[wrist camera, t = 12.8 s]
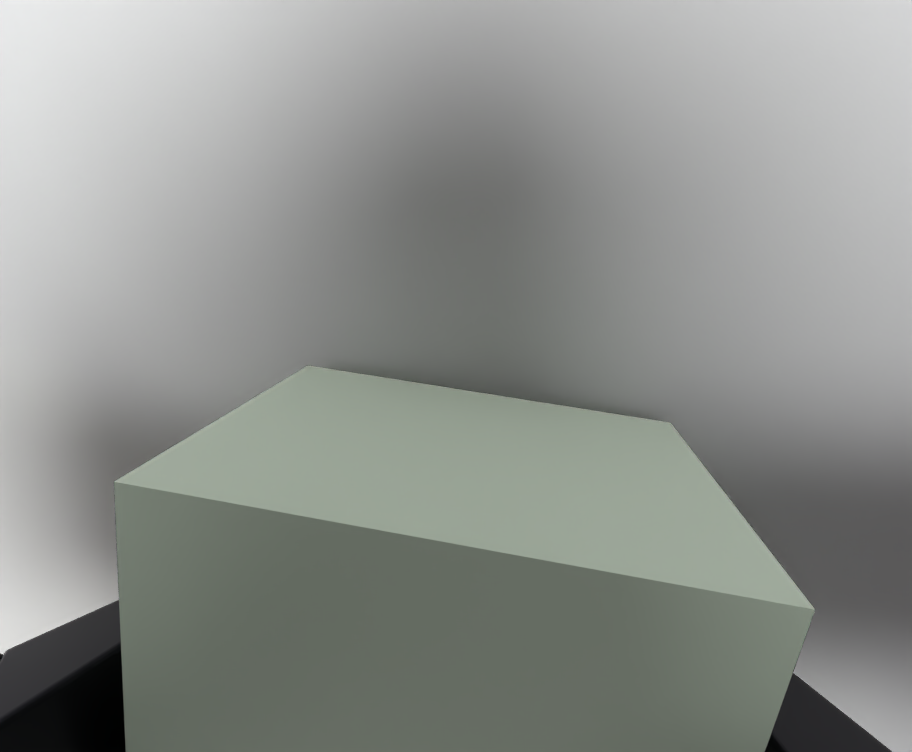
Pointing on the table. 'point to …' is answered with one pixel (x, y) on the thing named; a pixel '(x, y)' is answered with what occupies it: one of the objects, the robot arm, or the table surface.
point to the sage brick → (443, 582)
